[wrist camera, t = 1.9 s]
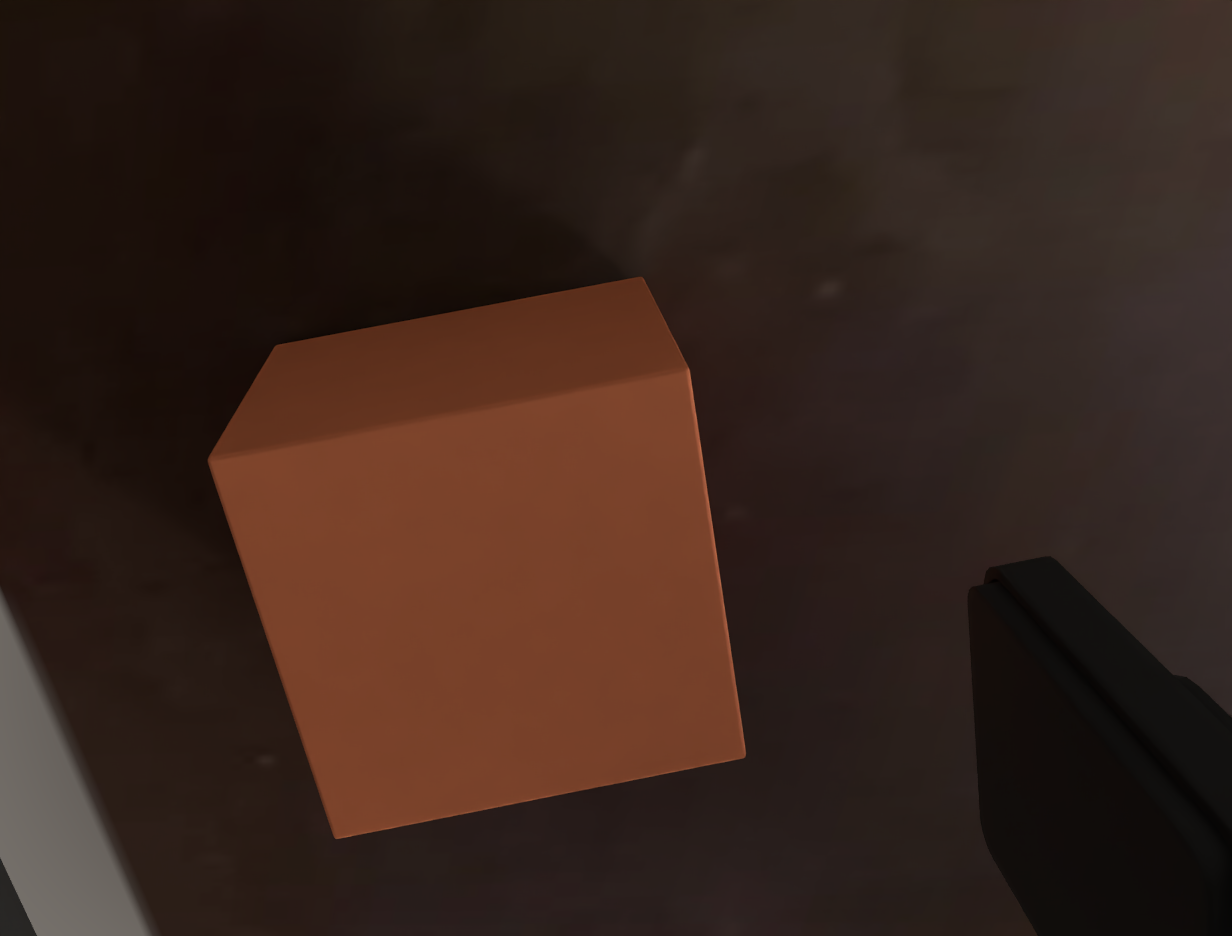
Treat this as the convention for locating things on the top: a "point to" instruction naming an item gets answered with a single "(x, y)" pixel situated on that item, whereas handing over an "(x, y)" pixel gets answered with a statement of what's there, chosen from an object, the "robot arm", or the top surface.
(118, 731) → the top surface
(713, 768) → the top surface
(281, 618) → the orange block
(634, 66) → the top surface
